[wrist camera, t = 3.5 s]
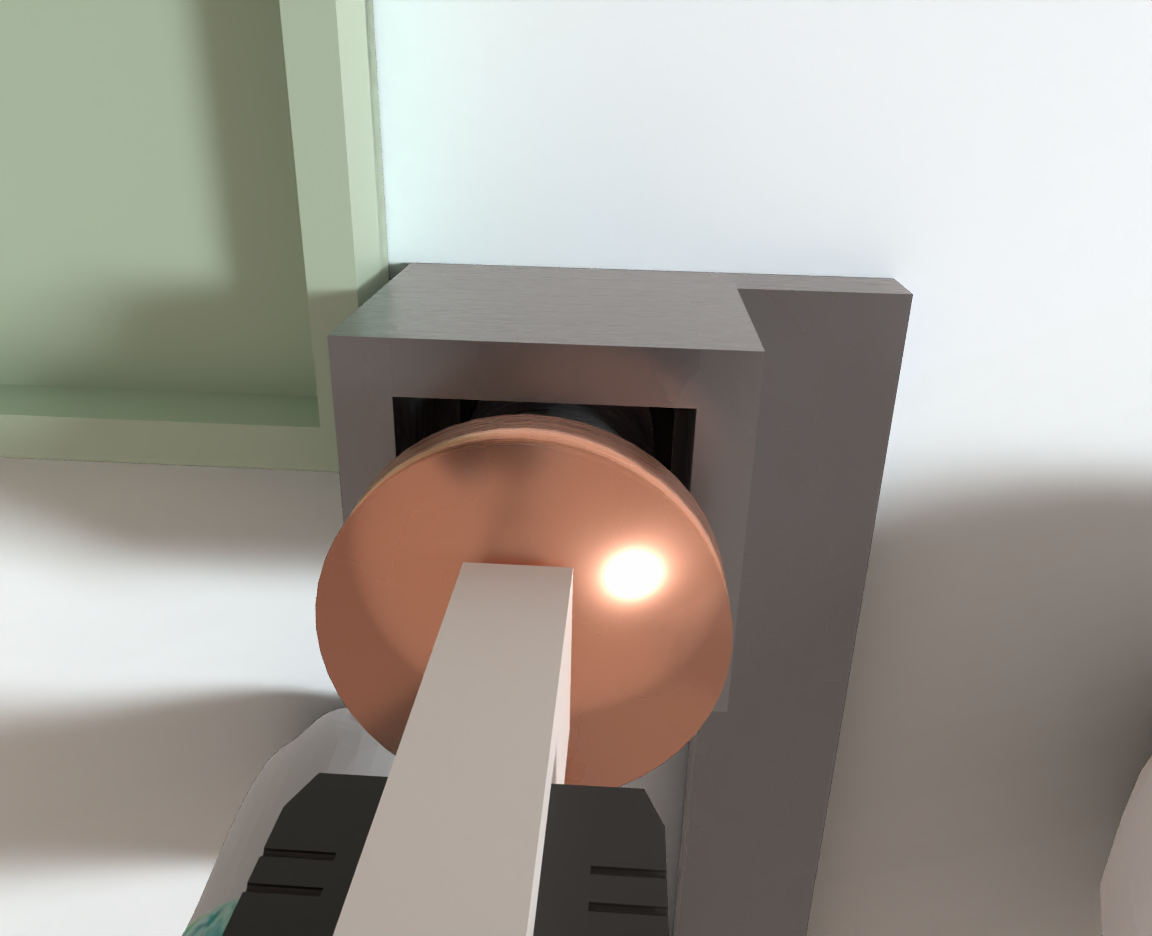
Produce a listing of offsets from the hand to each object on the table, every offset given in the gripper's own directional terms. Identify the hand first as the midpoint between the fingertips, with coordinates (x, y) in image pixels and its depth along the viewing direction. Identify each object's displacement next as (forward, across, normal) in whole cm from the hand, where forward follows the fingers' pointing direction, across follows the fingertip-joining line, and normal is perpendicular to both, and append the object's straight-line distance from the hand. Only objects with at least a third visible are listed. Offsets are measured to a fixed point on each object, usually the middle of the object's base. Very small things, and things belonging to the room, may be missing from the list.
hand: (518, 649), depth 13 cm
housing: (+9, +2, -11) cm, 15 cm away
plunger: (+9, 0, 0) cm, 9 cm away
